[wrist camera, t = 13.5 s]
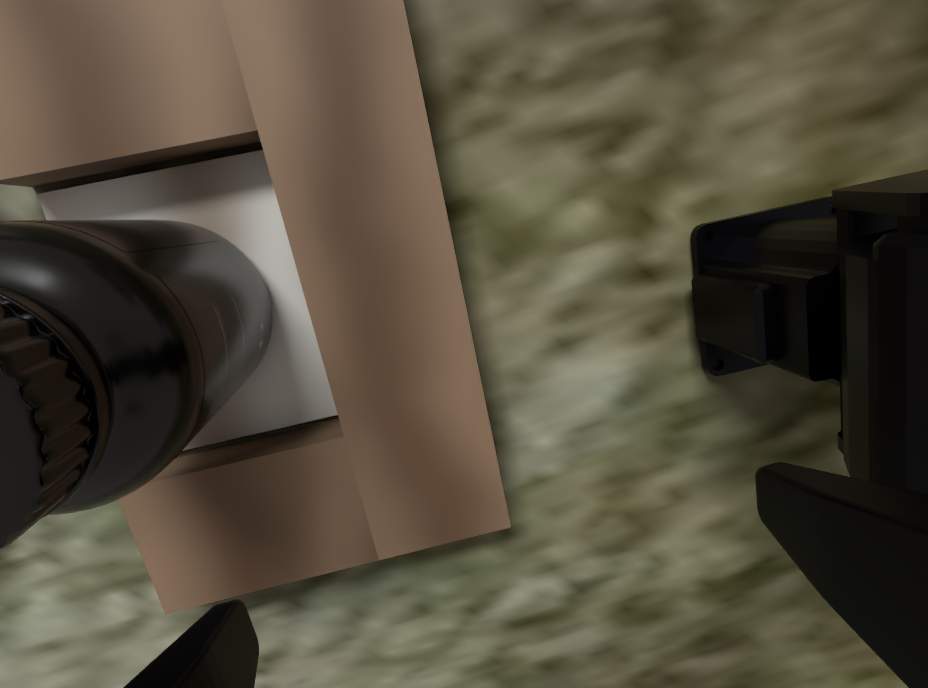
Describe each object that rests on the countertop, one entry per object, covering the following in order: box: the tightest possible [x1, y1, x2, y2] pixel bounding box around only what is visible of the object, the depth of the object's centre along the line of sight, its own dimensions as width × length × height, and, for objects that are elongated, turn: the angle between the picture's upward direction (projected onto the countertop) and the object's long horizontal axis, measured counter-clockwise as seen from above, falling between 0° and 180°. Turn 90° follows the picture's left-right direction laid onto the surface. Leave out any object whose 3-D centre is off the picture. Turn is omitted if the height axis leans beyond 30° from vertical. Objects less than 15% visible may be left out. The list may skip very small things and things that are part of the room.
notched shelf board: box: [0, 0, 511, 614], centre depth 19 cm, size 14×22×2 cm, turn 12°
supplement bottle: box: [0, 220, 273, 549], centre depth 14 cm, size 7×7×12 cm
